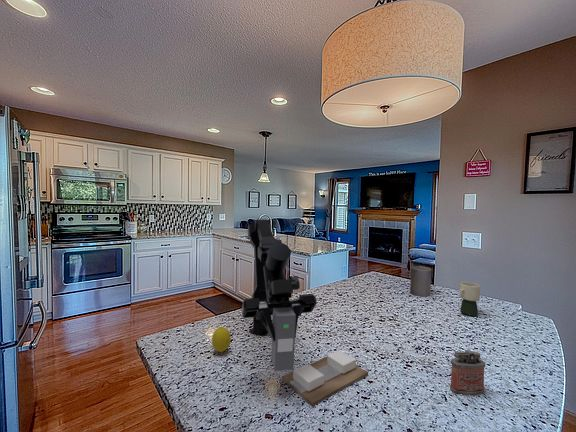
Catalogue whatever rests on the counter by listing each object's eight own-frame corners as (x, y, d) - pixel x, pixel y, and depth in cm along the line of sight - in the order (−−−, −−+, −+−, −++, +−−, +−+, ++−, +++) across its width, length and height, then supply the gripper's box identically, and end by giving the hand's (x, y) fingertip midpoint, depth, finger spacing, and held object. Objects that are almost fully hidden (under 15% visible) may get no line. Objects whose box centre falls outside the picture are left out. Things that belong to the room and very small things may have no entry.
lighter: (477, 386, 70) (479, 347, 70) (487, 395, 67) (489, 355, 67) (446, 386, 70) (448, 347, 70) (455, 395, 67) (456, 355, 66)
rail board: (281, 379, 72) (281, 376, 72) (335, 355, 84) (335, 352, 84) (311, 406, 63) (312, 403, 63) (368, 375, 74) (368, 372, 74)
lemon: (223, 345, 89) (223, 321, 89) (234, 351, 86) (234, 326, 85) (208, 352, 85) (208, 327, 84) (219, 359, 81) (219, 332, 81)
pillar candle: (406, 291, 148) (407, 263, 147) (422, 290, 150) (423, 263, 149) (417, 297, 139) (418, 268, 138) (435, 296, 140) (436, 267, 139)
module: (271, 359, 69) (273, 308, 69) (288, 357, 70) (290, 307, 70) (274, 371, 64) (277, 316, 64) (293, 369, 65) (295, 315, 65)
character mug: (470, 309, 123) (471, 280, 122) (486, 316, 116) (487, 285, 115) (451, 312, 119) (452, 282, 119) (466, 319, 113) (467, 287, 112)
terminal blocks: (293, 378, 71) (293, 370, 71) (339, 357, 81) (339, 350, 81) (308, 391, 66) (308, 382, 66) (355, 367, 76) (355, 359, 76)
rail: (289, 383, 69) (289, 381, 69) (344, 358, 81) (344, 356, 81) (302, 394, 65) (302, 392, 65) (357, 366, 77) (357, 364, 77)
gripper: (243, 266, 68) (247, 331, 58) (315, 263, 73) (331, 322, 62) (240, 288, 76) (244, 348, 66) (305, 284, 81) (318, 340, 70)
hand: (284, 339), depth 66 cm, fingers closed on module, 5 cm apart
